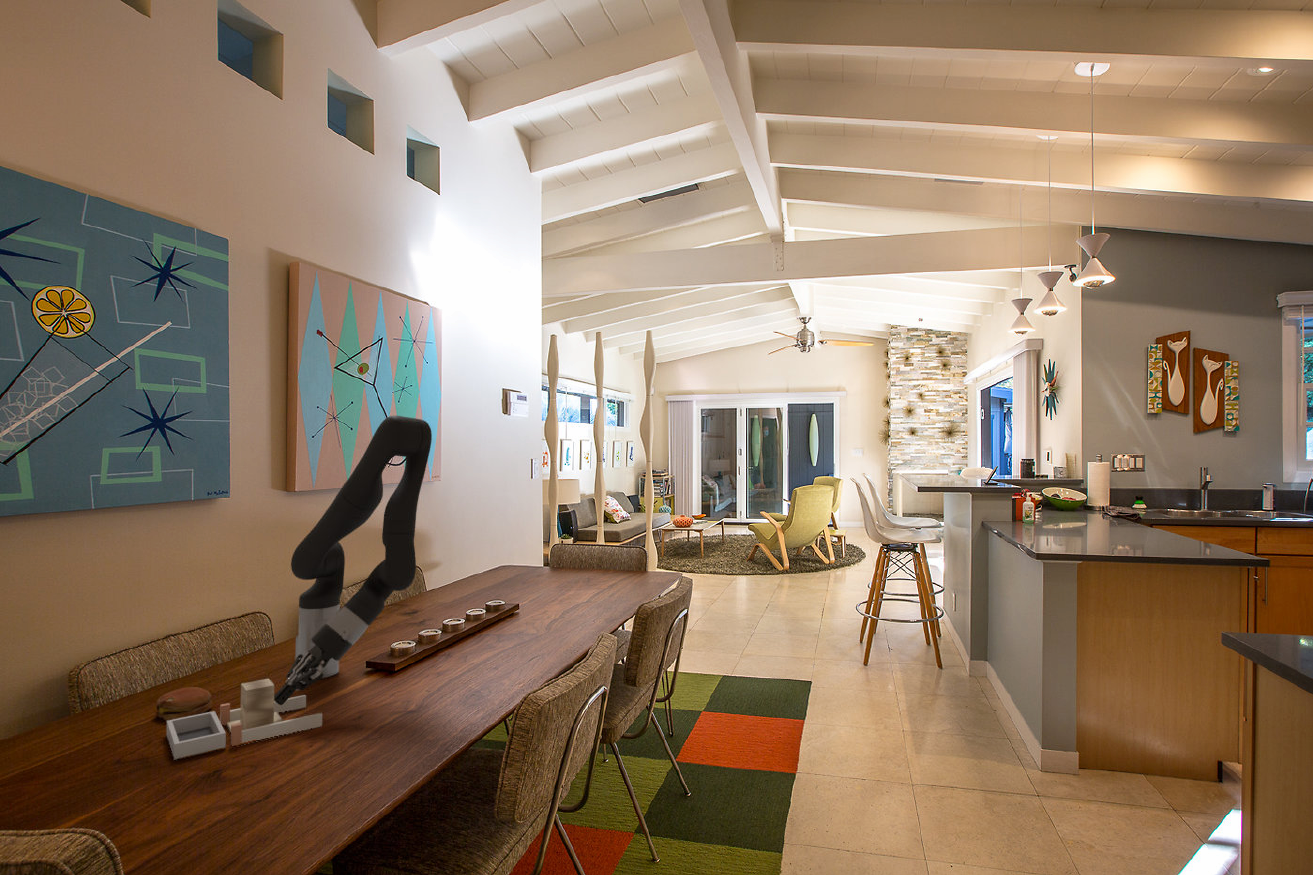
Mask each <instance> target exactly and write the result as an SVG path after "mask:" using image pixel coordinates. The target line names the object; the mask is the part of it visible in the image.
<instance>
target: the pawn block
mask: <svg viewBox="0 0 1313 875" xmlns="http://www.w3.org/2000/svg"><path fill="white" fill-rule="evenodd" d="M270 679H271V678H270ZM270 679H269V678H265V679H258V680H253V681H248V682H242V683H240V708H241V714H240V720H237V721H232V722H228V723H227V725H226V728H227V727H228V729H229V731H230V732H231V725H232V724H236V723H241V724H242V730H246V729H250V728H255V727H259V726H264V725H268V724H273V723H277V722H282V721H284V719H283V718H282V717H281V716H280V713H277V712H274V695H275V684H274V683H273V681H272V680H270ZM228 729H227V730H228ZM229 731H228V732H229ZM230 732H229V733H230Z"/></svg>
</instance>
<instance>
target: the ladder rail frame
mask: <svg viewBox="0 0 1313 875" xmlns="http://www.w3.org/2000/svg"><path fill="white" fill-rule="evenodd" d="M306 707H307V695H305V694H303V695H297V696H293V697H289V698H288V699H287V701H286V702H285V703H284V704H283V705H279V704H278V703H276V702H275V701H274V712H277V713H278V714H280V713H279V712H282V713H286V712H285V711H287V712H289V711H290V710H291V711H297V710H301V709H305V708H306ZM291 711H290V712H291ZM240 714H241V707H240V708H239V707H238V708H235V709H231V704H230V702H227V703H222V704H220V705H219V721H220V723H221V725H224V726H227V723H228V722H232V721H237V720H240ZM322 726H323V713H322V712H318V713H314V714H309V715H304V716H300V717H297V718H291V719H286V720H283V721H282V722H277V723H273V724H268V725H264V726H259V727H255V728H250V729H246V730H242V724H241V723H236V724H232V725H231V734H230V746H231V745H232V746H234V745H238V744H241V743H244V742H248V741H252V740H261V739H265V738H269V739H271V738H270V737H273V738H275V737H274V736H278V737H280V736H279V735H282V736H285V735H284V734H286V735H289V733H290V734H293V732H295V733H298V732H297V731H299V732H302V730H303V731H308V730H310V729H311V728H312V729H316V728H319V727H322ZM312 729H311V730H312ZM265 740H266V739H265ZM261 741H262V740H261Z"/></svg>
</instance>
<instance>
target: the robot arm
mask: <svg viewBox="0 0 1313 875" xmlns="http://www.w3.org/2000/svg"><path fill="white" fill-rule="evenodd" d="M432 434H433V433H432V429H431V425H429V423H428V422H427V421H425V420H424V419H421V418H415V417H408V416H403V415H390V416H387V417H386V418H385V419H383V420H382V422H380V424H379V426H378V427H377V429H376V430H375V432H374V434H373V436H372V438H371V440H370V442H369V443H368V446H366V447H367V448H366V449H365V452H364V453H363V455H362V457H361V458H360V460H359V461H358V464H357V465H356V466H355V468H354V470H353V472H352V473H351V474H350V476H349V477H348V479H347V480H346V482H345V483H344V484H343V485H342V487H341V488H340V489H339V491H338V493H337V494H336V496H335V497H334V499H333V501H332V503H330V505H329V507H328V508H327V509H326V510H325V511H324V513H323V515H322V516H321V517H320V519H319V520H318V521H317V523H316V524H315V526H314V527H313V528H312V529H311V530H310V531H309V533H308V534H307V535H306V536H305V537H304V538H303V539H302V541H301V542H300V543H299V544H298V545H297V546H296V548H295V550H294V551H293V554H292V557H291V562H290V568H291V572H292V574H293V575H294V576H295V577H296V578H298V579H299V580H303V581H304V580H305V581H309V580H315V582H314V583H313V584H312V585H311V586H310V587H309V588H308V589H306V590H305V591H304V592H302V593H301V594H300V595H299V598H298V635H296V636H295V660H294V662H293V663H292V665H291V667H290V669H288V670H289V671H288V672H287V674H286V676H285V677H286V678H287V679H286V680H285V683H284V684H283V685H282V687H280V689H278V690H277V692H276V693H274V701H275V702H276V703H278V704H279V705H283V704H284V703H285V702H286V701H287V699H288V698H291V696H292V695H293V694H294V693H295V692H298V691H303V690H305V689H307V688H308V687H310V686H312V685H313V684H315V683H316V682H318V681H319V680H321V679H325V678H329V677H332V676H334V675H337V674H338V673H339V669H340V660H341V659H342V658H343V657H344V656H345V655H346V654H347V652H348V651H349V650H350V649H351V648H352V647H353V646H354V644H355V643H356V642H357V641H359V639H360V638H361V637H362V636H363V635H364V633H365V631H366V630H367V629H368V628H369V626H370V625H371V624H372V623H373V622H374V621H375V619H377V618H378V616H379V615H380V614H381V613H382V611H383V610H384V608H385V605H386V604H385V603H386V601H387V600H388V598H389V597H390V596H391V595H392V594H393V592H394V591H395V592H400V591H404V590H406V589H407V588H409V587H410V586H411V585H412V584H413V582H414V580H415V577H416V572H417V570H416V569H417V564H416V562H417V561H416V550H415V549H416V547H415V535H416V523H417V521H416V520H417V510H418V504H419V497H420V492H421V489H422V485H423V480H424V478H425V473H426V468H427V464H428V460H429V456H430V452H431V448H432V447H431V446H432V440H433V438H432V437H433V435H432ZM396 456H397V457H405V466H404V471H403V474H402V477H401V479H400V481H399V483H398V485H397V486H396V488H395V490H393V493H392V494H391V496H390V498H389V499H388V501H387V503H386V505H385V509H384V512H383V522H382V533H381V534H382V535H381V536H382V537H381V538H382V543H383V546H384V549H385V551H384V554H385V555H384V559H383V560H382V561H380V562H379V563H378V564H377V565H376V566H375V567H374V568H373V569H372V571H371V573H370V574H369V575H368V577H367V578H366V580H364V582H363V583H362V585H361V587H360V588H359V590H357V591H356V593H355V594H354V595H353V596H351V598H350V599H349V600H348V601H346V602H345V604H344V605H343V606H342V607H340V606H341V604H340V603H341V596H342V594H343V590H344V581H345V580H344V579H345V577H344V576H345V566H346V565H345V564H346V559H345V558H346V557H345V552H344V551H345V550H344V547H343V546H342V545H341V543H340V541H341V540H343V539H344V538H346V537H347V536H349V535H350V534H351V533H353V532H354V531H356V530H357V529H359V528H361V526H362V525H364V524H365V523H367V521H368V520H369V519H370V518H371V517H372V515H373V514H374V512H375V511H376V509H377V508H378V507H379V505H380V503H381V502H382V500H383V496H384V495H383V494H384V482H383V472H384V470H385V468H386V467H387V465H388V463H389V462H390V461H391V460H392V459H393V458H394V457H396Z"/></svg>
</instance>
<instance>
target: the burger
mask: <svg viewBox="0 0 1313 875" xmlns="http://www.w3.org/2000/svg"><path fill="white" fill-rule="evenodd" d="M211 697H212V695H211V693H210V692H209V691H208V689H207V690H206V689H204V688H201V687H198V686H195V687H194V686H190V687H188V686H187V687H182V688H179V689H175V690H172V691H169V692H167V693H164V694H163V695H161V696H160V697H159V698H158V699H157V701H156V710H157V711H156V712H155V715H158V717H159V718H160V719H163V720H164V721H166V722H167V721H168V720H173V719H178V718H183V717H188V716H193V715H198V714H203V713H206V712H208V710H210V709H211V708H212V707H213V703H212V702H213V700H212V698H211Z"/></svg>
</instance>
